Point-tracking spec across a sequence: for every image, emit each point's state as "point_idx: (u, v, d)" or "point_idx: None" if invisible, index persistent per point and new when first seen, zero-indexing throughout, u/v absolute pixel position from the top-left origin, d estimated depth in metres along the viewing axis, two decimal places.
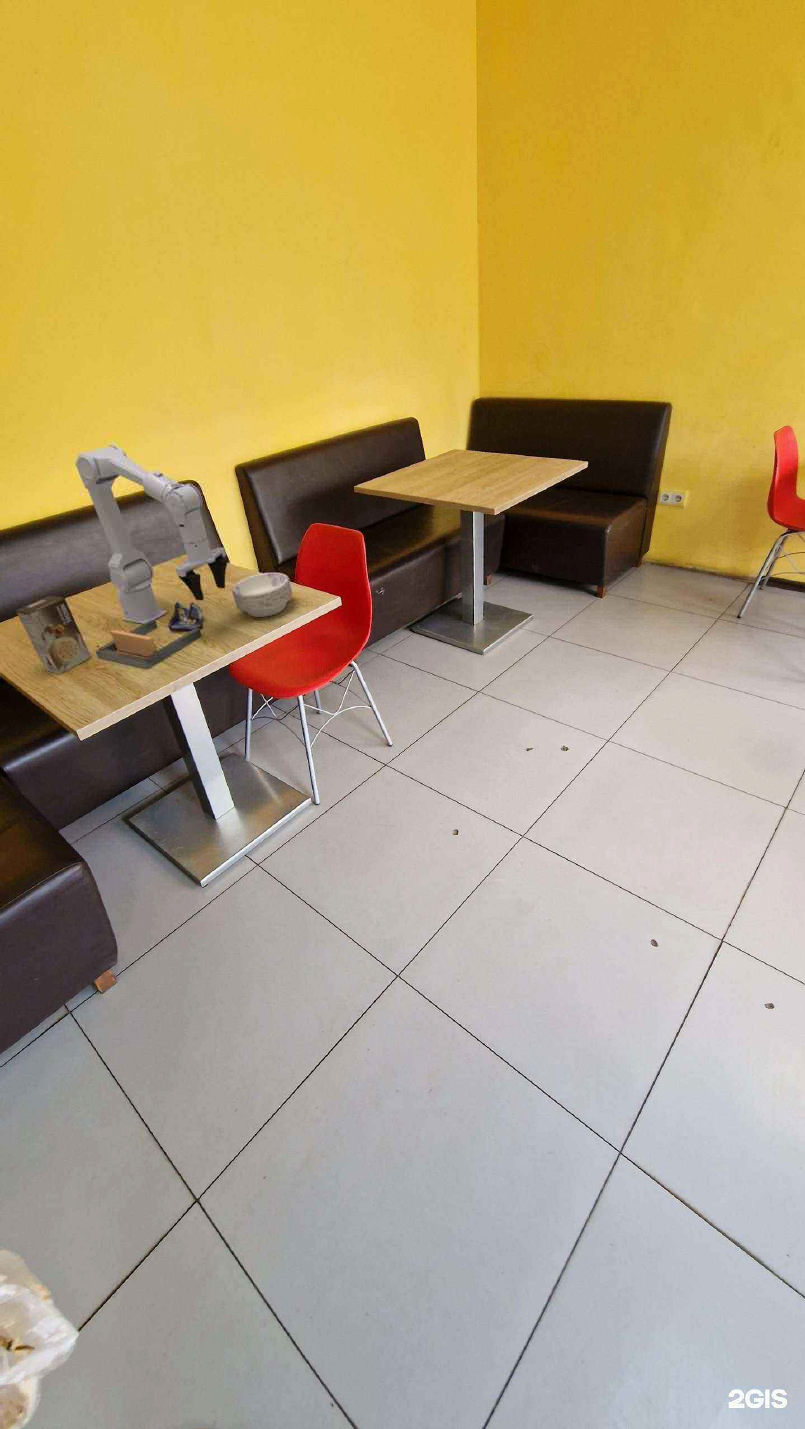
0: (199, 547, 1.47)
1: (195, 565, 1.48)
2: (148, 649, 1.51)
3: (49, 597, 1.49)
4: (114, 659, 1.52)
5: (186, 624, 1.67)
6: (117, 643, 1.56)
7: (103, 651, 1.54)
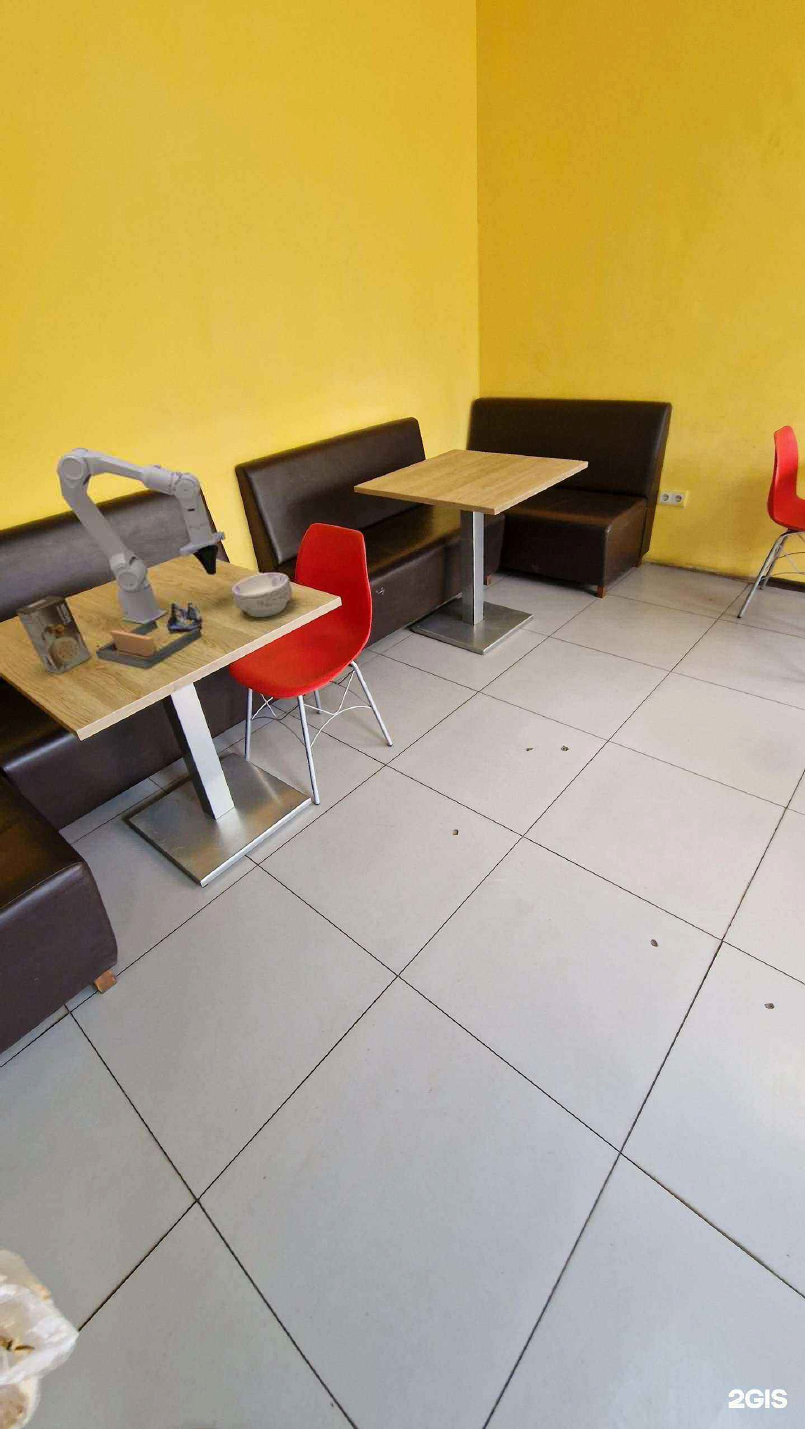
0: (201, 530, 1.61)
1: (197, 547, 1.62)
2: (148, 649, 1.51)
3: (49, 597, 1.49)
4: (114, 659, 1.52)
5: (184, 625, 1.67)
6: (117, 643, 1.56)
7: (103, 651, 1.54)
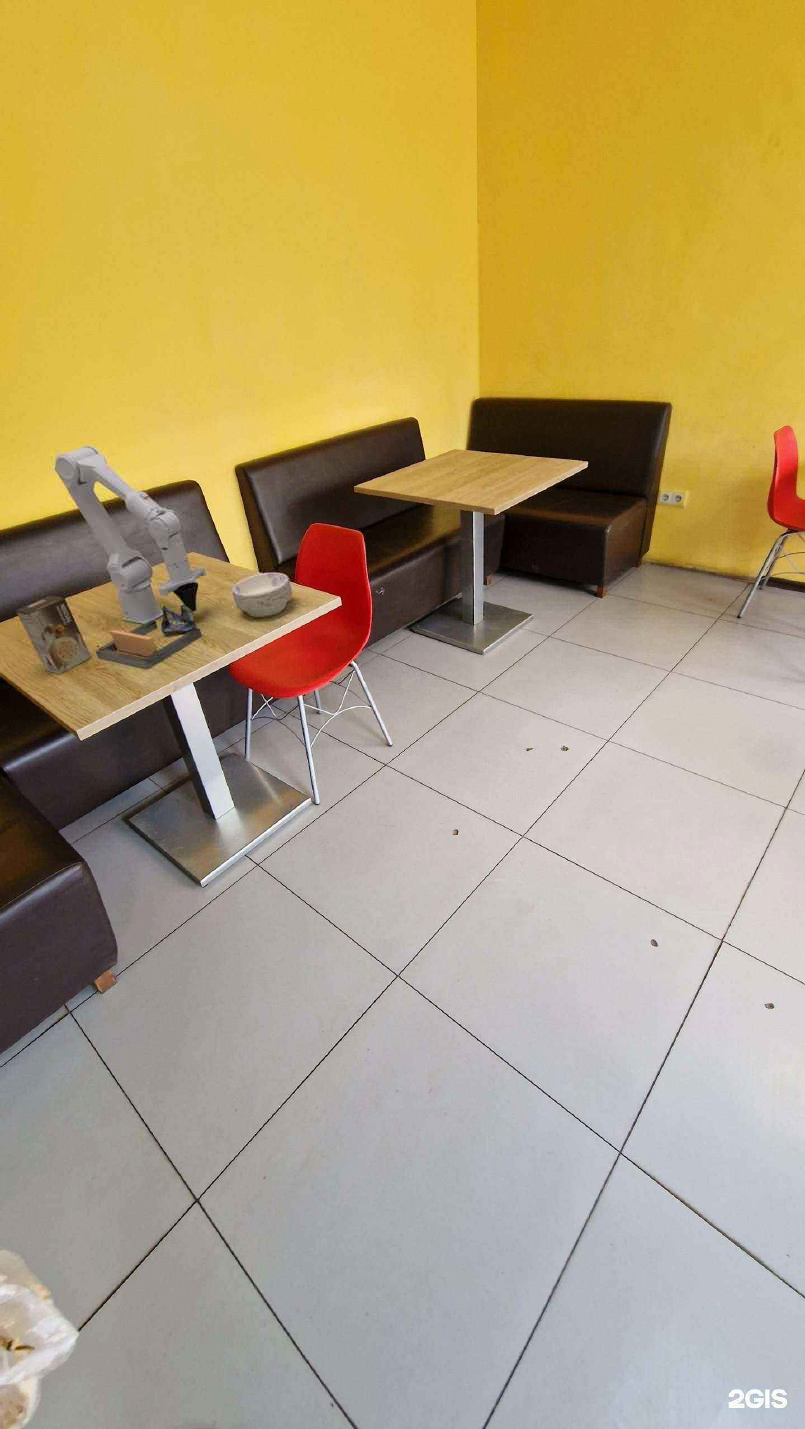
0: (180, 568, 1.58)
1: (177, 585, 1.59)
2: (148, 649, 1.51)
3: (49, 597, 1.49)
4: (114, 659, 1.52)
5: (177, 627, 1.65)
6: (117, 643, 1.56)
7: (103, 651, 1.54)
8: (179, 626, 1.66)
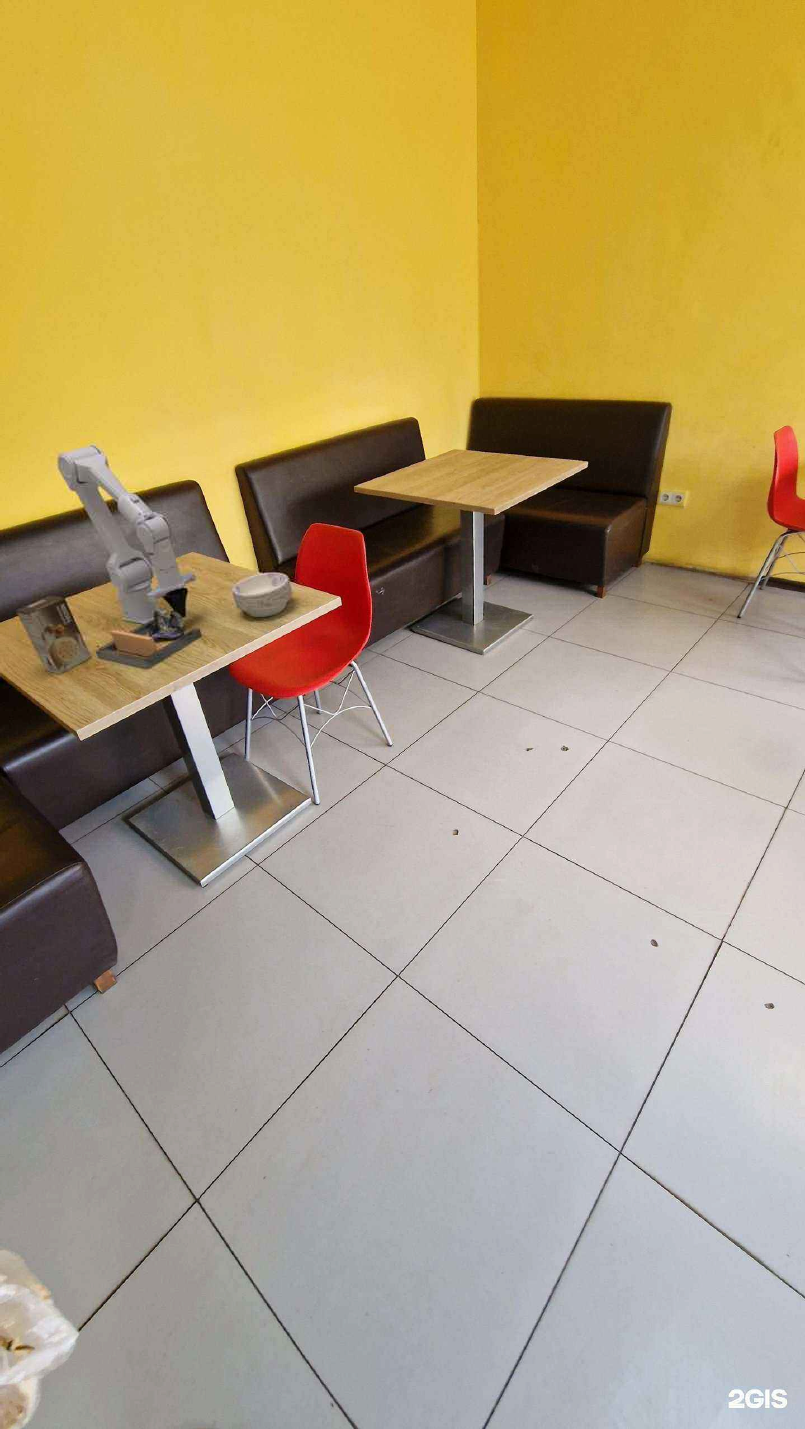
0: (169, 573, 1.55)
1: (165, 591, 1.56)
2: (148, 649, 1.51)
3: (49, 597, 1.49)
4: (114, 659, 1.52)
5: (166, 633, 1.63)
6: (117, 643, 1.56)
7: (103, 651, 1.54)
8: (169, 632, 1.64)
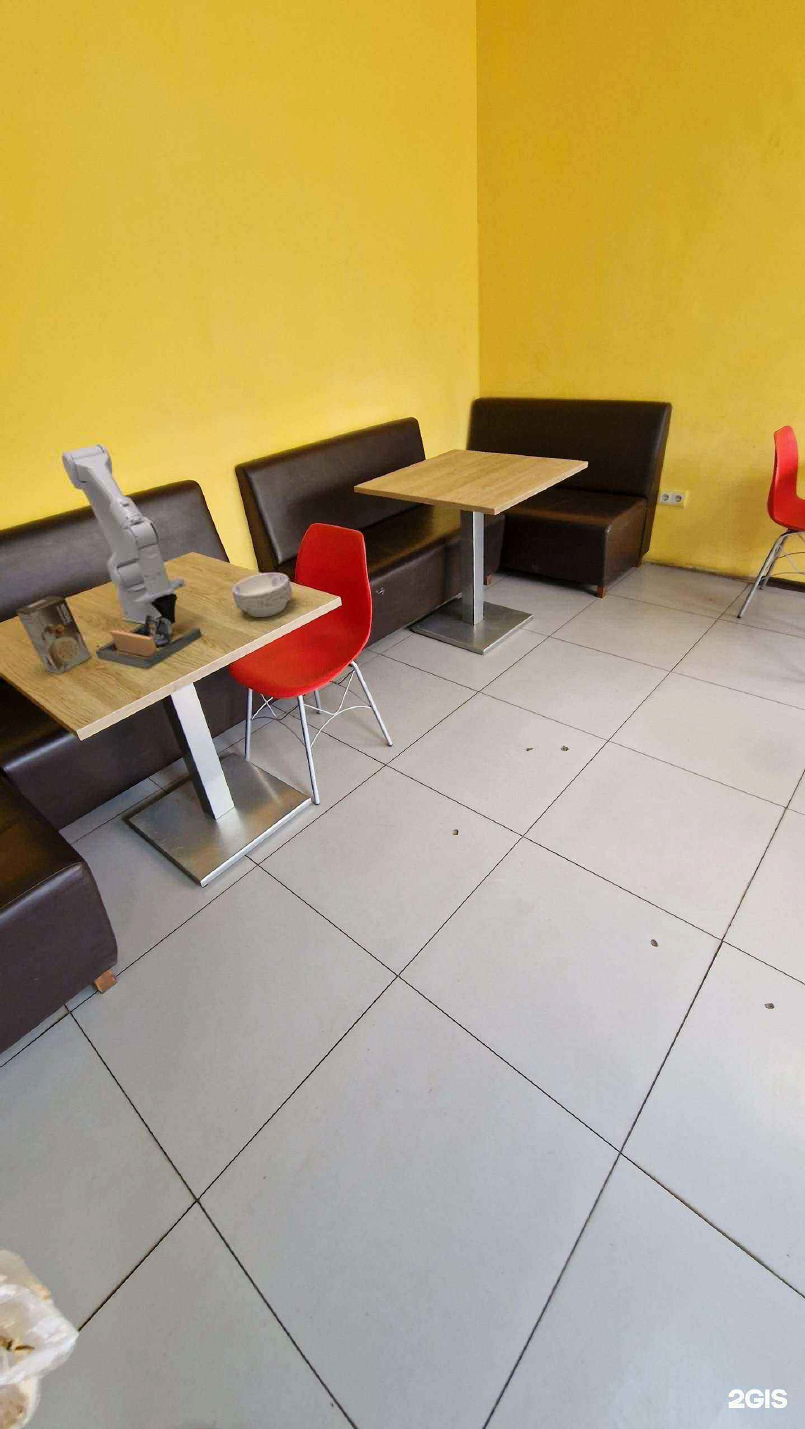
0: (157, 579, 1.53)
1: (154, 597, 1.54)
2: (148, 649, 1.51)
3: (49, 597, 1.49)
4: (114, 659, 1.52)
5: (155, 639, 1.61)
6: (117, 643, 1.56)
7: (103, 651, 1.54)
8: (158, 637, 1.62)
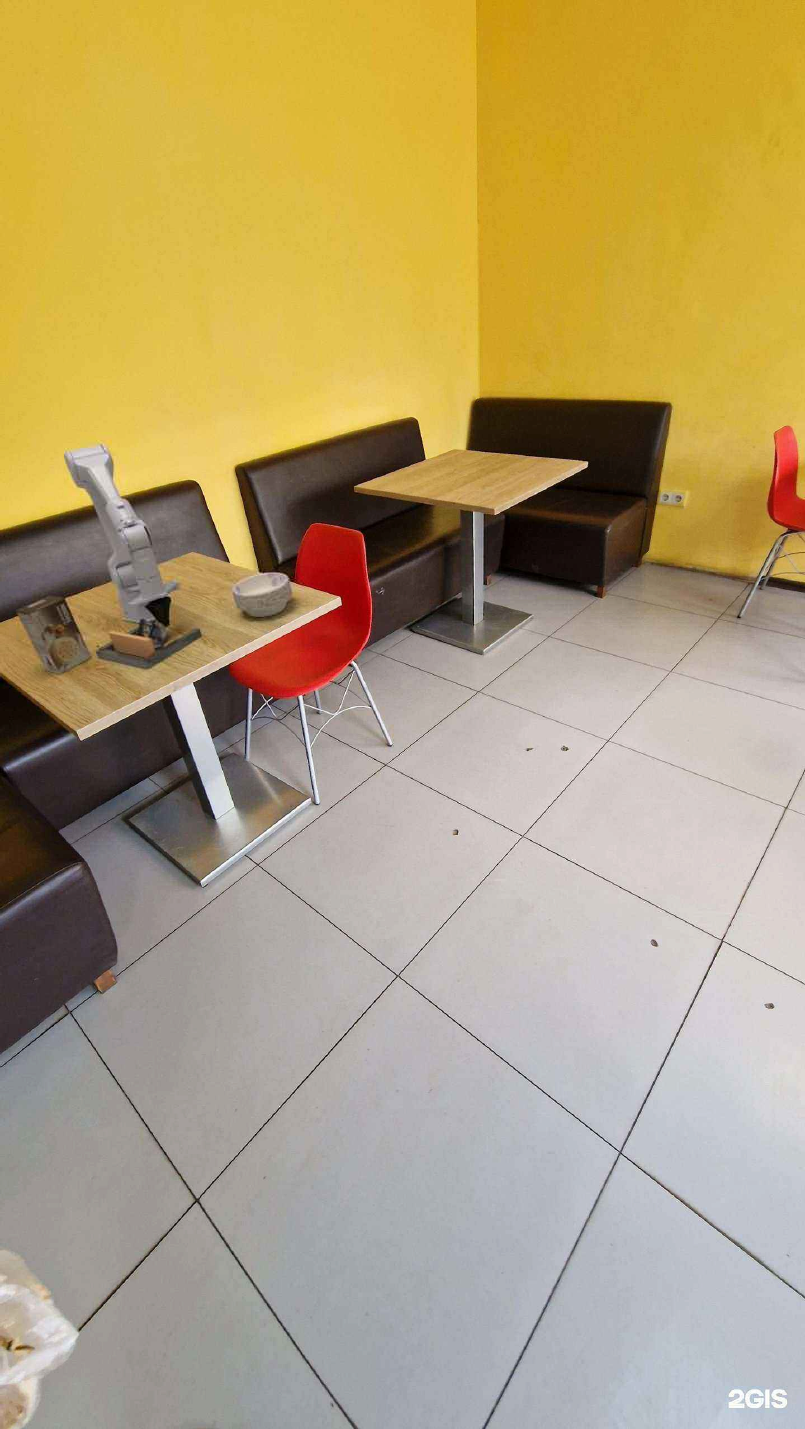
0: (151, 582, 1.51)
1: (147, 600, 1.52)
2: (146, 650, 1.50)
3: (49, 597, 1.49)
4: (114, 659, 1.52)
5: None
6: (115, 644, 1.56)
7: (103, 651, 1.54)
8: None
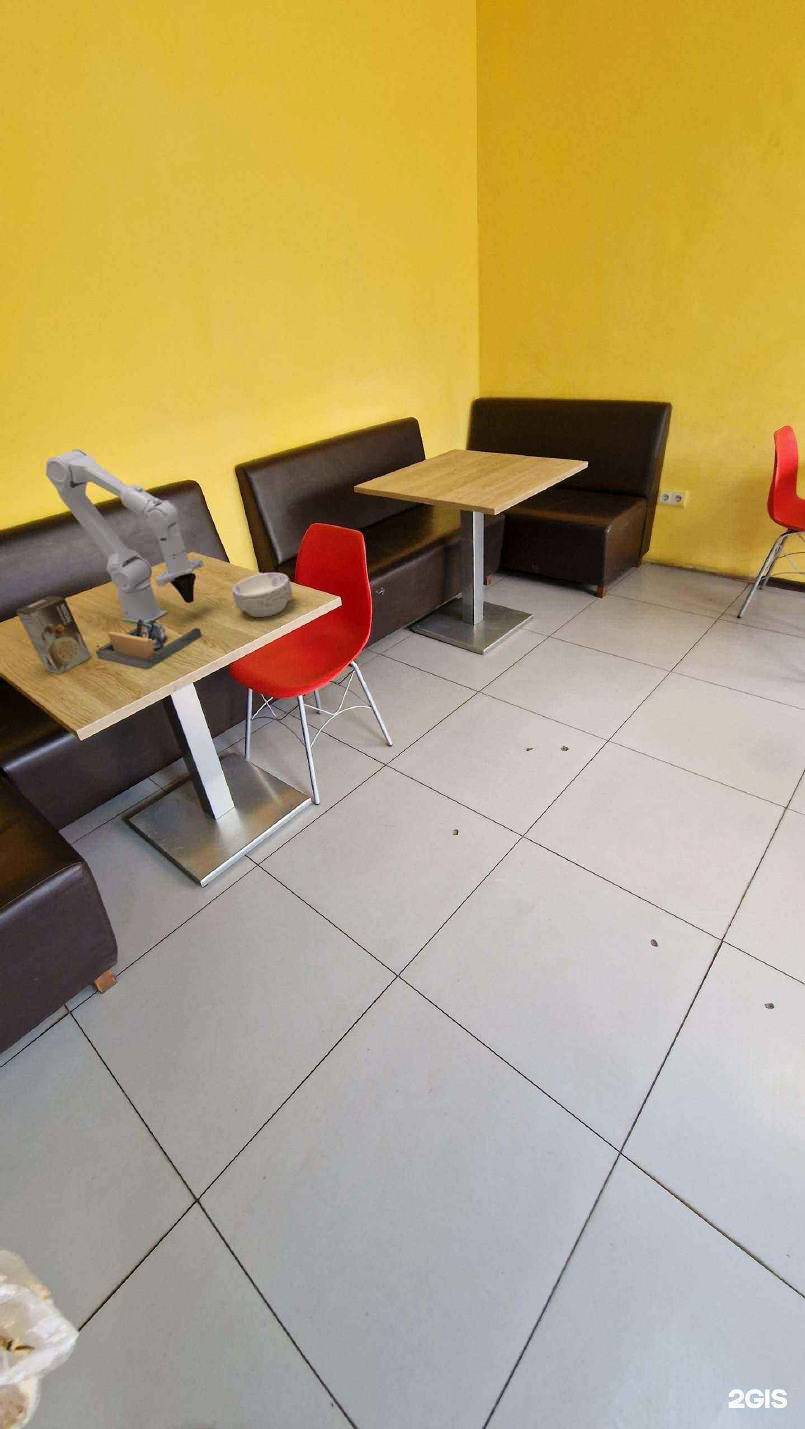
0: (177, 559, 1.59)
1: (174, 576, 1.60)
2: (145, 651, 1.50)
3: (49, 597, 1.49)
4: (114, 659, 1.52)
5: None
6: (114, 645, 1.56)
7: (103, 651, 1.54)
8: None
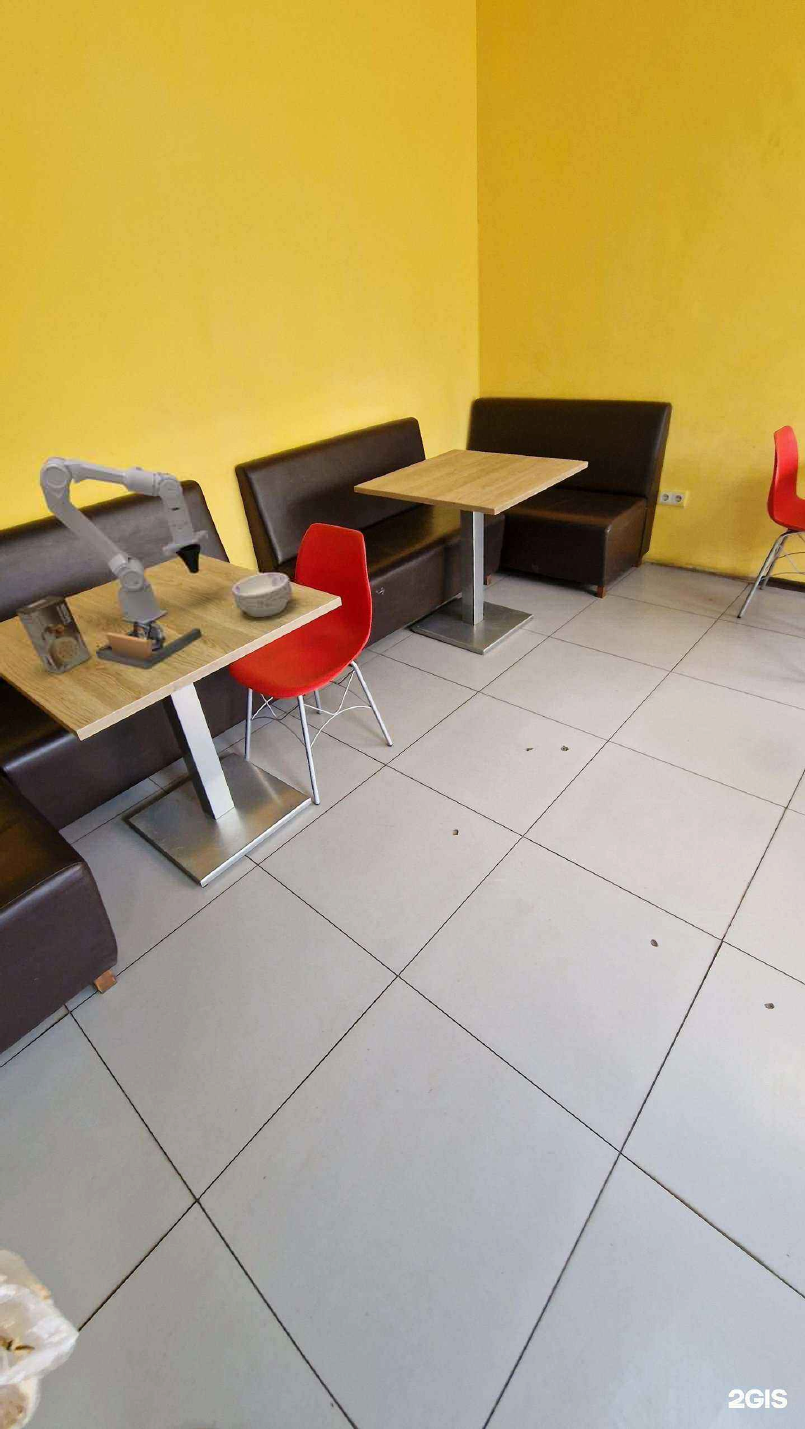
0: (183, 529, 1.64)
1: (180, 545, 1.65)
2: (144, 652, 1.50)
3: (49, 597, 1.49)
4: (114, 659, 1.52)
5: None
6: (113, 646, 1.55)
7: (103, 651, 1.54)
8: None
